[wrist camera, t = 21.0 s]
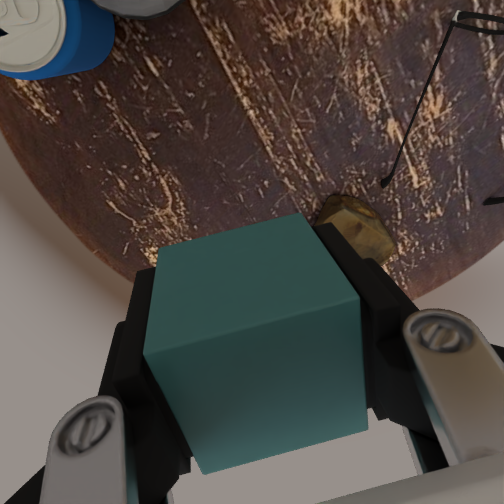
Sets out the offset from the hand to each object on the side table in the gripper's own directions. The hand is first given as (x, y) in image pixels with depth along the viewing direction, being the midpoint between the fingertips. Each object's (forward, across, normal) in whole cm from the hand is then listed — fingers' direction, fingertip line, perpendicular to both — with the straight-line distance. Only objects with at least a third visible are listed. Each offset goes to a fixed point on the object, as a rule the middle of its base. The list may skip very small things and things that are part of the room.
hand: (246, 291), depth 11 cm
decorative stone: (+26, -12, +15) cm, 32 cm away
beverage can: (+25, +8, -10) cm, 28 cm away
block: (0, 0, 0) cm, 0 cm away
